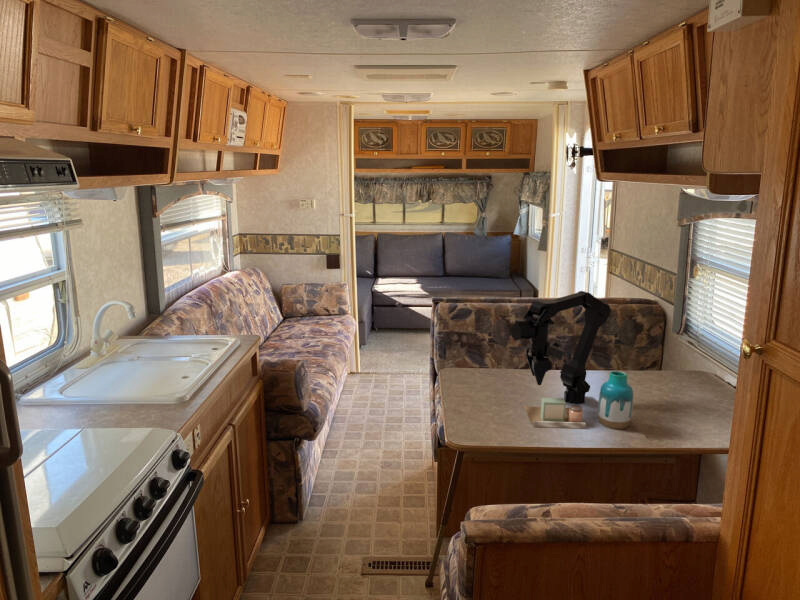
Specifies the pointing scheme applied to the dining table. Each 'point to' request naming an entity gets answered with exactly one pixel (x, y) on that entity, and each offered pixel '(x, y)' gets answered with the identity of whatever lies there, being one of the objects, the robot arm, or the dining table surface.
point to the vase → (615, 401)
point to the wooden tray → (536, 421)
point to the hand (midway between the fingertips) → (536, 380)
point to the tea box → (552, 409)
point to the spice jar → (575, 413)
